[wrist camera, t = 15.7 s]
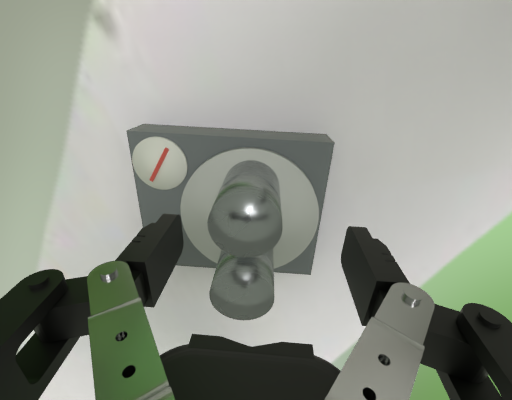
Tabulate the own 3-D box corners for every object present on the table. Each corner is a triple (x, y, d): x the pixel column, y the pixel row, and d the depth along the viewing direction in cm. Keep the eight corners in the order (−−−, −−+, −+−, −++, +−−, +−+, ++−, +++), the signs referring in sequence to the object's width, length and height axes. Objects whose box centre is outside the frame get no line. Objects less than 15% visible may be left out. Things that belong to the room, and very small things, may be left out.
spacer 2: (275, 225, 22) (276, 274, 17) (271, 266, 24) (271, 322, 19) (223, 222, 22) (208, 269, 17) (223, 263, 24) (210, 317, 19)
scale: (326, 134, 22) (337, 145, 19) (306, 255, 28) (311, 282, 25) (143, 123, 23) (119, 133, 19) (160, 245, 28) (144, 270, 25)
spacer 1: (276, 157, 19) (278, 189, 14) (281, 208, 21) (285, 254, 16) (219, 163, 20) (199, 197, 14) (229, 213, 22) (215, 260, 16)
